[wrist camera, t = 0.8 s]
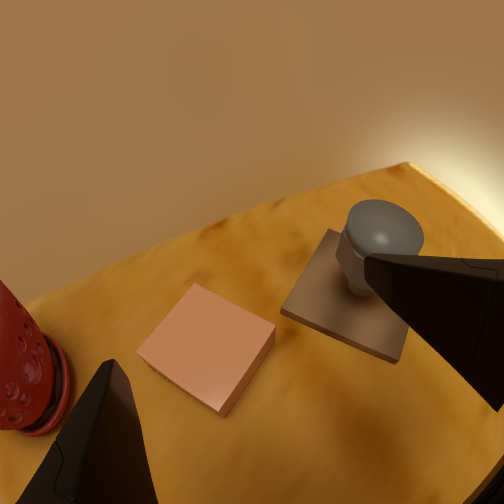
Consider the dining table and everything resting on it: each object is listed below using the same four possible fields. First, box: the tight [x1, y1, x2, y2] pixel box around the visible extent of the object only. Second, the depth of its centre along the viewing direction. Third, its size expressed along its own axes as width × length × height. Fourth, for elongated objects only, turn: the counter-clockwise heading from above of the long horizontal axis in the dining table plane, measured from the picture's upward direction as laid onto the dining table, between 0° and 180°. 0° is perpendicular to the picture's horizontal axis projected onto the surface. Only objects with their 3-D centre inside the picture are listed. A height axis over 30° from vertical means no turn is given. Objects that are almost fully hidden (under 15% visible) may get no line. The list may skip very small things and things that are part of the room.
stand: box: [136, 283, 276, 418], centre depth 22 cm, size 8×8×4 cm
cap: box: [335, 200, 424, 292], centre depth 22 cm, size 7×7×4 cm
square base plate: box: [280, 229, 409, 364], centre depth 24 cm, size 12×12×8 cm
